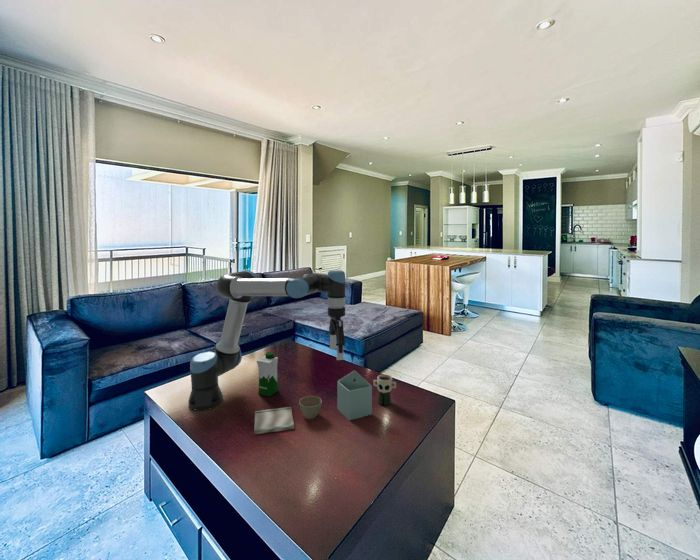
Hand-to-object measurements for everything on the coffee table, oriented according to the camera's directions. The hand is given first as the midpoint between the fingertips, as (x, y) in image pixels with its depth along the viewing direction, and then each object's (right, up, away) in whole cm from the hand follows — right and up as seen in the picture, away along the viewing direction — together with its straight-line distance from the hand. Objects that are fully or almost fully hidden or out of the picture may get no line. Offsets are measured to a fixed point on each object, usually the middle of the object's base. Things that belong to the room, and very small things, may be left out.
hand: (336, 354), depth 145 cm
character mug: (+23, -27, +14) cm, 38 cm away
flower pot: (-12, -28, +3) cm, 31 cm away
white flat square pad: (-27, -29, -1) cm, 39 cm away
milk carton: (-36, -25, +24) cm, 50 cm away
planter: (+7, -28, +3) cm, 29 cm away
